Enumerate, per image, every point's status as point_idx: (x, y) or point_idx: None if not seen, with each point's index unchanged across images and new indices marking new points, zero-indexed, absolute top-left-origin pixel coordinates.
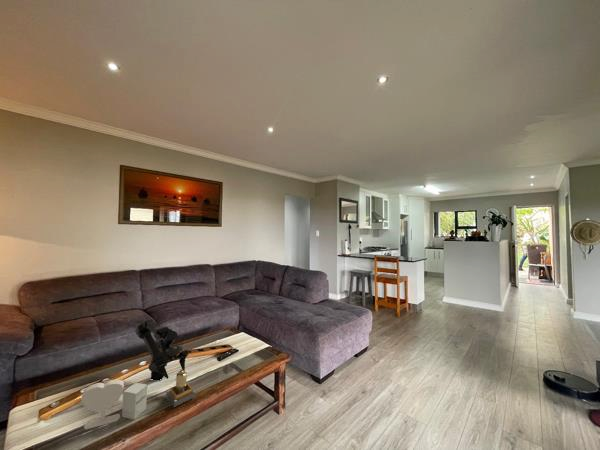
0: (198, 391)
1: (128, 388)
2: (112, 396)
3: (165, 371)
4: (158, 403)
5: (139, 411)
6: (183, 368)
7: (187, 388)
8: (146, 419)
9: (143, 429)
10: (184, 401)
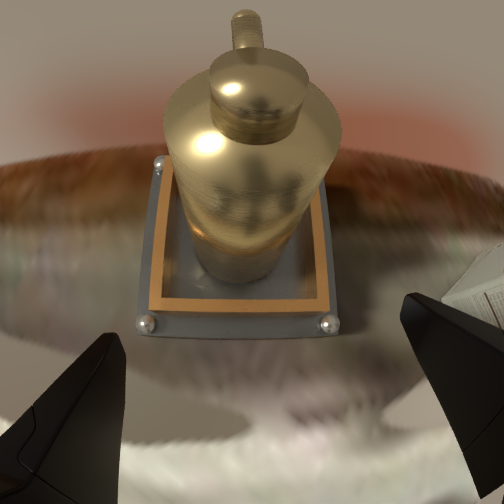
0: (110, 230)
1: None
2: None
3: (500, 340)
4: (379, 304)
5: (478, 263)
6: (107, 357)
7: (171, 248)
8: (439, 215)
9: (444, 168)
10: None
